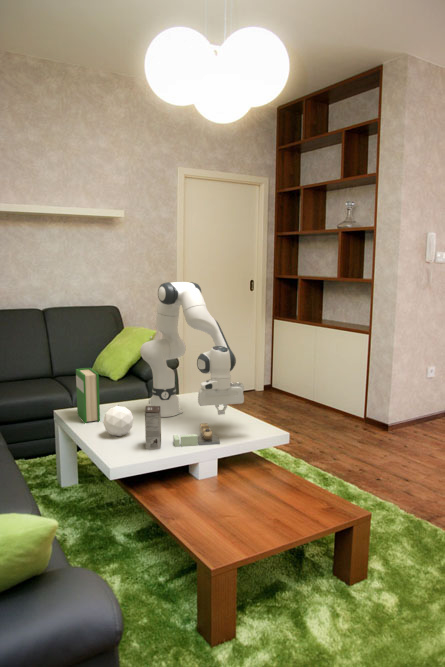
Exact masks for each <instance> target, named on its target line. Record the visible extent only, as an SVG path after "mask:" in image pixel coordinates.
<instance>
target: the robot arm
mask: <svg viewBox="0 0 445 667" xmlns="http://www.w3.org/2000/svg"><path fill="white" fill-rule="evenodd" d="M157 298H158V304H157V309H156V317H155V327H156V329H157V331H159V332H160V333H161V336H162V337H161V338H159V339H151V340H148V341H146V342H143V344H141V346H140V350H139V351H140V352H139V353H140V356H141V358H142V359H143V361H145V362H146V363H147V364H148V365H149V367H150V369H151V373H152V389H151V392H152V396H151V397H150V398H149V399H148V404H149V405H148V406H160V409H161V418H168V417H174V416H177V415H179V414H183V410H182V409H181V408H180V398H179V396H178V395H177V393H176V392H177V388H176V384H175V382H176V379H175V378H176V377H175V376H176V375H175V371H174V370H173V369H172V368H171V367H169V366H168V364H167V361H169V360H175V359H178V358H181V357H183V356H184V355H185V353H186V350H187V349H186V344H185V342H184V340H183V339H182V338H181V337H180V334H179V328H178V326H179V319H180V318H179V316H180V307H181V308H182V312H183V315H184V320H185V322H186V324H187V325H188V326H189V327H190V328H193V329H194V330H197V331H201V332H204V333H206V334H208V335H209V336H210V337H211V338H212V341H213V343H214V345H215V346H212V347H211V349H210V350H208V351H205V352H203V353H200V354H199V355H198V357H197V359H196V366H197V369H198V370H199V372H201V373H202V374H205V375H206V374H210V378H209V379H207V380H204V381H202V382H200V389H199V390H198V397H197V403H198V405H199V406H200V407H205V406H206V407H207V406H215V409H216V410H217V415H218V416H220V415H225V414H226V410H227V408H228V405H236V404H237V405H239V404H243V403H244V402H245V397H244V390H245V385H244V384H243V383H242V382H232V376H231V372H232V371H233V370H234V368H235V366H236V363H237V359H236V355H235V354H234V352H233V351H232V349H231V347H230V346H229V345H230V344H229V343H228V341H227V339H226V337H225V335H224V332H223V330H222V328H221V325H220V324H219V322H218V320H216V319H215V318H214V317H213V316H212V315H211V313H210V312H209V310H208V307H207V303H206V301H205V298H204V296H203V293H202V288H201V287H200V285H199V283H196V282H193V281H190V282H188V281H175V282H173V281H172V282H164V283H161V284H160V285H159V286H158V289H157ZM220 405H221V406H223V409H220Z"/></svg>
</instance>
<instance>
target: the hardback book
mask: <svg viewBox="0 0 445 667" xmlns="http://www.w3.org/2000/svg"><path fill="white" fill-rule="evenodd" d="M99 380H100V375H99V372H97V371H96V370H94V369H93V368H92V367H83V368H75V381H76V382H75V383H76V384H75V385H76V386H75V387H76V388H75V389H76V411H77V412H76V413H77V414H78V415H77V416H78V417H79V419H80V418H81V419H82V420H83V421H82V420H81V419H80V420H81V421H82V422H83V424H85V423H88V422H94V421H97V422H98V423H100V422H101V412H100V411H101V408H100V404H101V402H100V381H99ZM99 421H100V422H99Z"/></svg>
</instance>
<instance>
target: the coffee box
mask: <svg viewBox="0 0 445 667" xmlns="http://www.w3.org/2000/svg"><path fill="white" fill-rule="evenodd" d="M161 420H162V417H161V409H160V406H149V405H145V410H144V424H145V425H144V426H145V428H144V429H145V430H144V431H145V450H158V449H161V448H162V447H161V446H162V421H161Z"/></svg>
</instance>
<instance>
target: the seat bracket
mask: <svg viewBox="0 0 445 667" xmlns="http://www.w3.org/2000/svg"><path fill="white" fill-rule="evenodd" d="M172 437H173V445H174V447H175V448H176V447H189V446H198V445H199V444H198V434H197V433H193V434H180V437H179V435H178V434H173V436H172Z"/></svg>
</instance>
